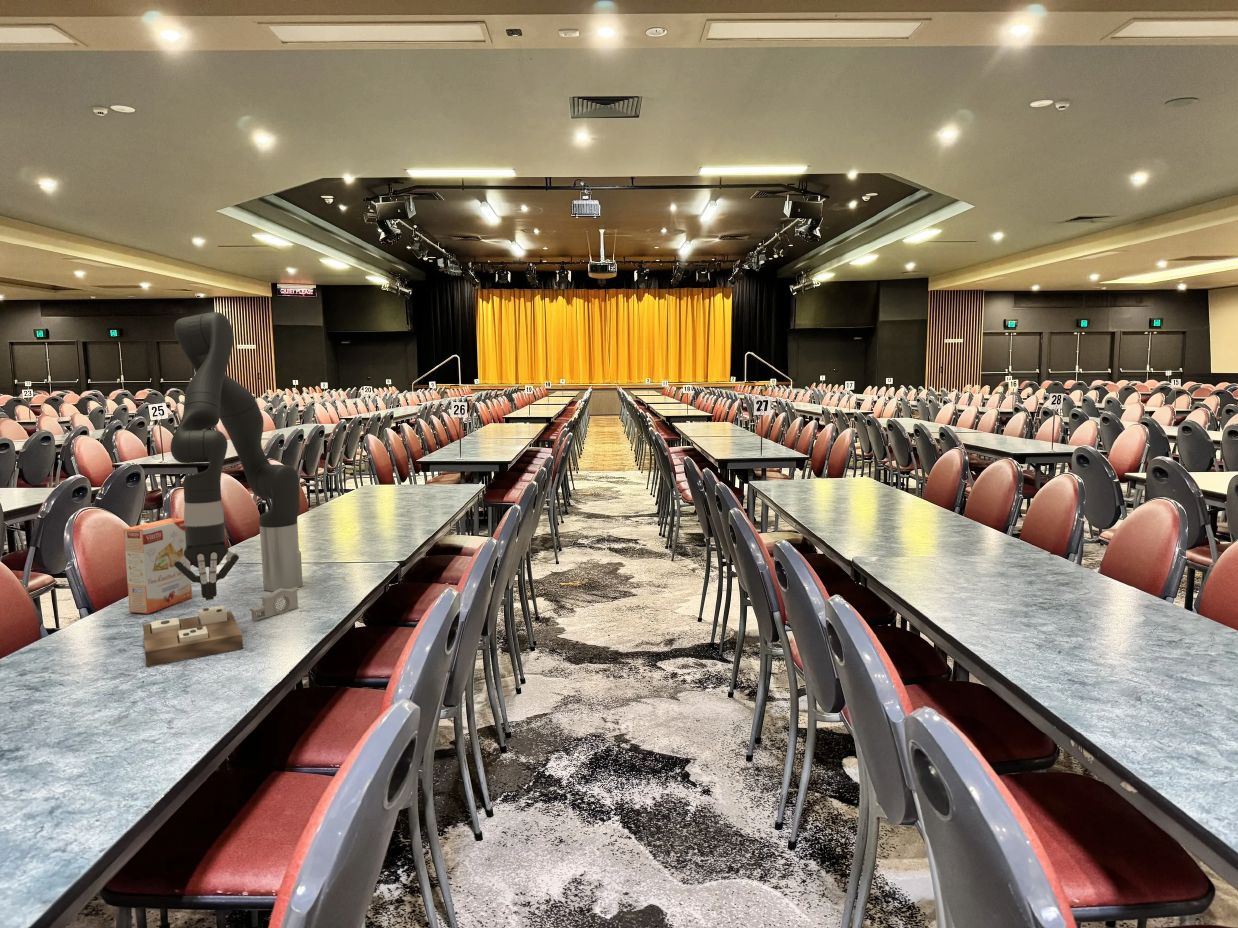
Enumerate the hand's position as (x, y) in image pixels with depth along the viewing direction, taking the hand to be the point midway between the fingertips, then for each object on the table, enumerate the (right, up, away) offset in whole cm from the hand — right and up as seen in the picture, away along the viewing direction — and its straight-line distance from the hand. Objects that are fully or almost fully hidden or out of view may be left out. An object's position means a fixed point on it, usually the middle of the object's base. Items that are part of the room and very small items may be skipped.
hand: (209, 598), depth 161 cm
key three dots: (+2, -8, -10) cm, 13 cm away
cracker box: (-23, -6, +21) cm, 32 cm away
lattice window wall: (+8, -6, +14) cm, 17 cm away
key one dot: (-7, -8, -4) cm, 11 cm away
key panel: (-1, -8, -6) cm, 10 cm away
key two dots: (0, -6, +1) cm, 6 cm away
